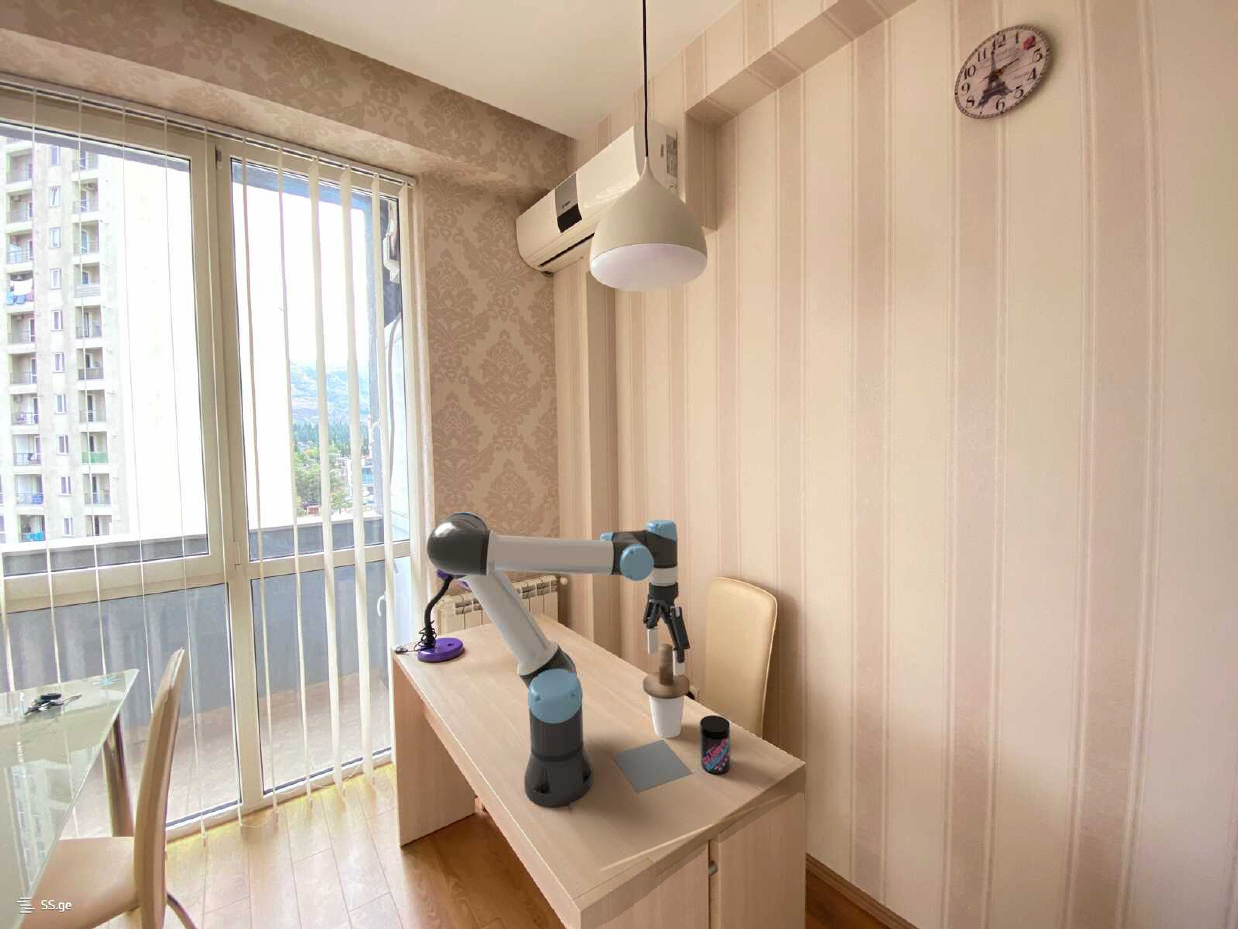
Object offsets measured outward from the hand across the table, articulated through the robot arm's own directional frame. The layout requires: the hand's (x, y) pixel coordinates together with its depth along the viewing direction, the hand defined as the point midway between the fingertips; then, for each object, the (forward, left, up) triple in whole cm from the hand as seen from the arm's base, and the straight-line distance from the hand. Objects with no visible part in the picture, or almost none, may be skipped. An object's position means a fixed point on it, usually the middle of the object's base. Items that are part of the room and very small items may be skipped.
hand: (665, 663), depth 130 cm
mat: (-10, -10, -18) cm, 23 cm away
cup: (0, 0, -18) cm, 18 cm away
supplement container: (+3, -17, -18) cm, 25 cm away
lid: (0, 0, -6) cm, 6 cm away
